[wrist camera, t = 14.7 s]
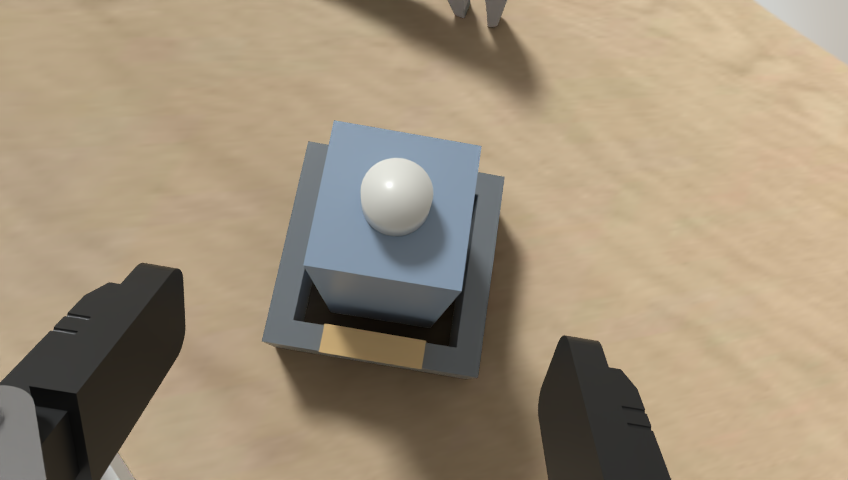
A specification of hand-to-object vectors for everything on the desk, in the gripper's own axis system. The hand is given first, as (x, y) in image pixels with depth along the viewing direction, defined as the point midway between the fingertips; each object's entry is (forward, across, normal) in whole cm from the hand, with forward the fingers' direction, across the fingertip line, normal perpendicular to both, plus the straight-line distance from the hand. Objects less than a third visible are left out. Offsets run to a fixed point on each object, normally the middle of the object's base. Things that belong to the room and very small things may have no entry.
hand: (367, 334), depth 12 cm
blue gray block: (+13, 0, +7) cm, 14 cm away
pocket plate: (+13, 0, +7) cm, 14 cm away
